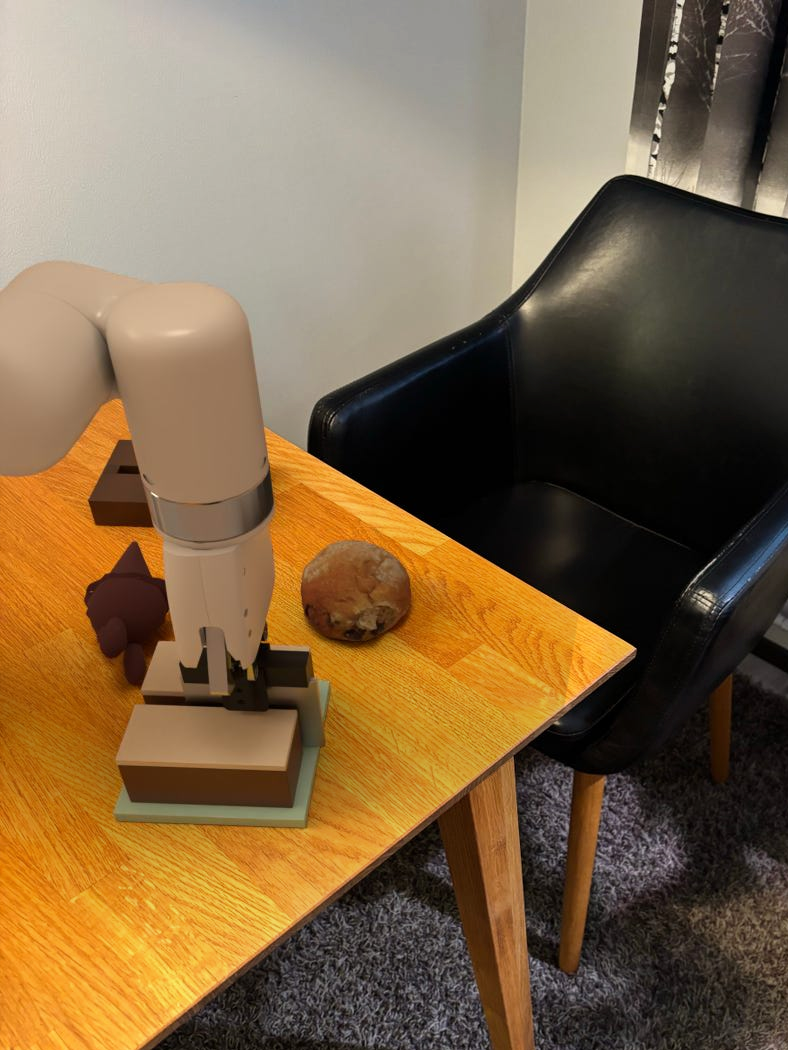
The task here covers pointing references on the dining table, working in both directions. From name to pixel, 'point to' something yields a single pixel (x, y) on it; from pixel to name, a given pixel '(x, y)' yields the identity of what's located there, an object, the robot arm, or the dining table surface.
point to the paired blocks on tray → (213, 757)
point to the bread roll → (354, 590)
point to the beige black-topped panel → (269, 688)
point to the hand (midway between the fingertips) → (250, 694)
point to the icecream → (127, 611)
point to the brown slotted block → (120, 491)
